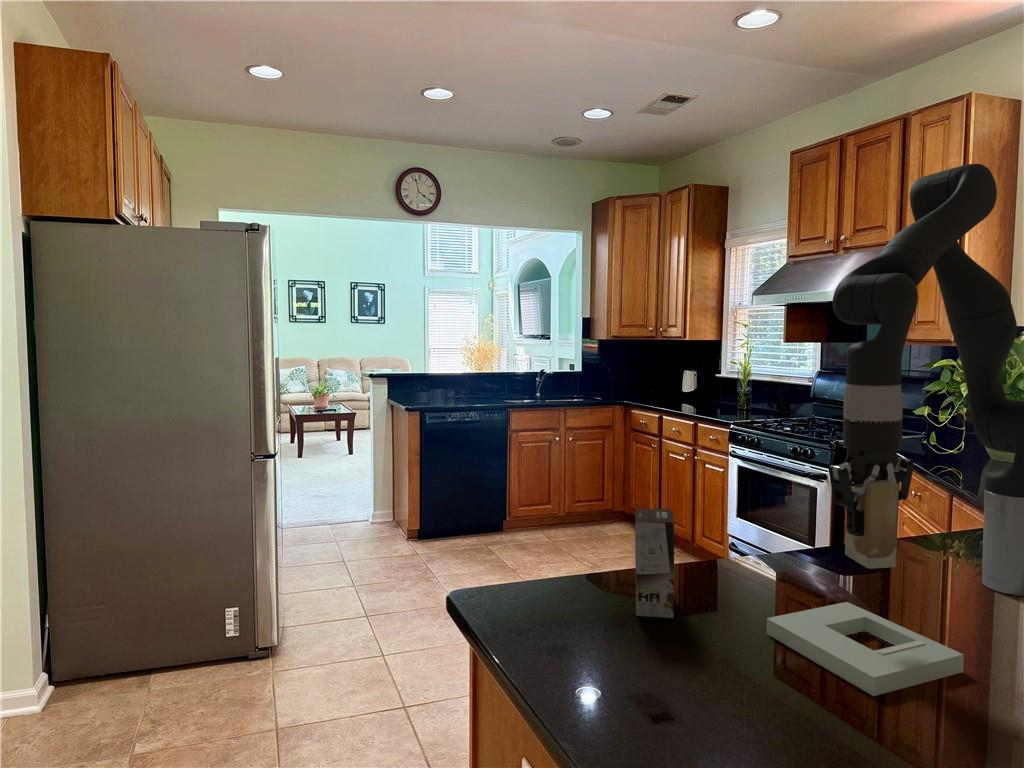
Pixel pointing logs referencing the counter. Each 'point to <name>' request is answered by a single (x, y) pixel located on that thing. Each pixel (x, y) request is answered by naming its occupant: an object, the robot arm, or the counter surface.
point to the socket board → (864, 648)
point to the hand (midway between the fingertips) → (870, 531)
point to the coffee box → (654, 562)
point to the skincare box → (876, 527)
